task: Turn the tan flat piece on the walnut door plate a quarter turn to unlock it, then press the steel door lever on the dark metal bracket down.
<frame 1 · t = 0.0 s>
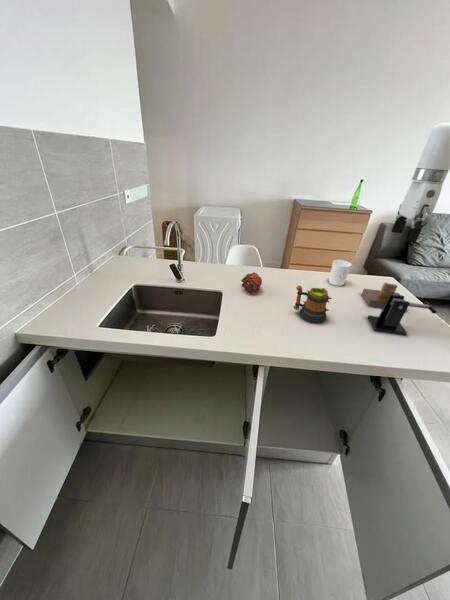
hand: (402, 236, 77), 30 cm above the worktop, tool pointing down, fingers open, 9 cm apart
handle bracket: (385, 326, 87), on the worktop
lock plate: (382, 302, 101), on the worktop
mug: (308, 315, 91), on the worktop
door lever: (411, 304, 81), point 10 cm above the worktop, hinge at 0.0°
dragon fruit: (250, 289, 106), on the worktop
white cup: (335, 283, 116), on the worktop
tan flat piece: (388, 290, 98), point 6 cm above the worktop, hinge at 0.0°
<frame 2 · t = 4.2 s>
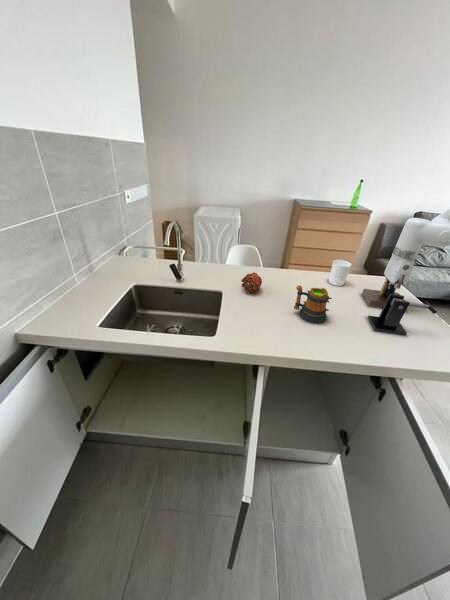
hand: (385, 295, 100), 3 cm above the worktop, tool pointing down, fingers closed
tan flat piece: (388, 290, 98), point 6 cm above the worktop, hinge at 0.0°, touching gripper
everything else where it was.
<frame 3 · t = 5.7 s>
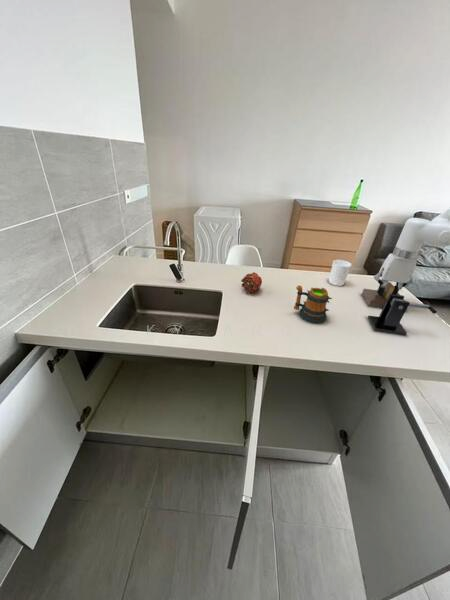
hand: (385, 295, 100), 4 cm above the worktop, tool pointing down, fingers open, 4 cm apart
tan flat piece: (388, 290, 98), point 6 cm above the worktop, hinge at 89.8°
everything else where it was.
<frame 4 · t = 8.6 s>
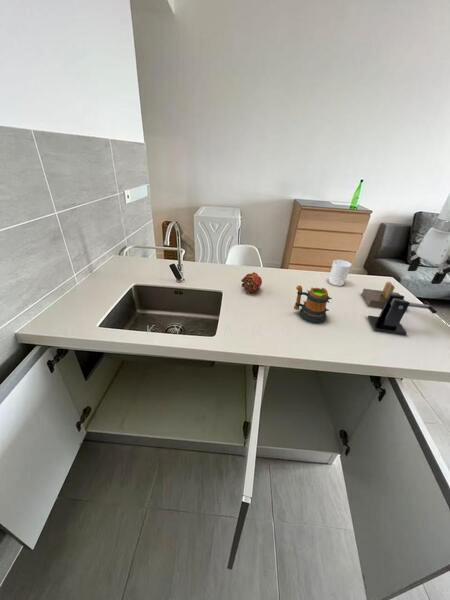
hand: (422, 276, 83), 17 cm above the worktop, tool pointing down, fingers open, 9 cm apart
nothing on the worktop moved.
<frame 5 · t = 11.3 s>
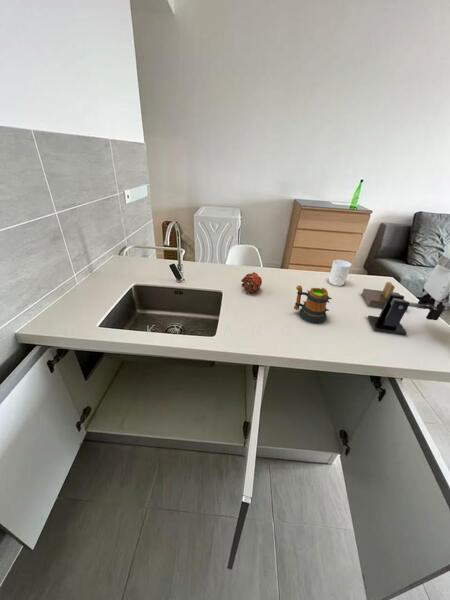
hand: (426, 313, 82), 8 cm above the worktop, tool pointing down, fingers closed on door lever, 6 cm apart
door lever: (411, 304, 81), point 10 cm above the worktop, hinge at 0.0°, touching gripper
everything else where it was.
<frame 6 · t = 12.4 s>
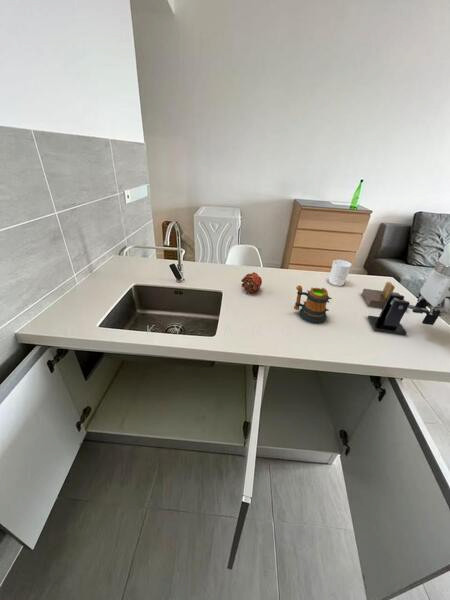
hand: (422, 317, 83), 6 cm above the worktop, tool pointing down, fingers closed on door lever, 6 cm apart
door lever: (410, 306, 82), point 9 cm above the worktop, hinge at -10.1°, touching gripper
everything else where it was.
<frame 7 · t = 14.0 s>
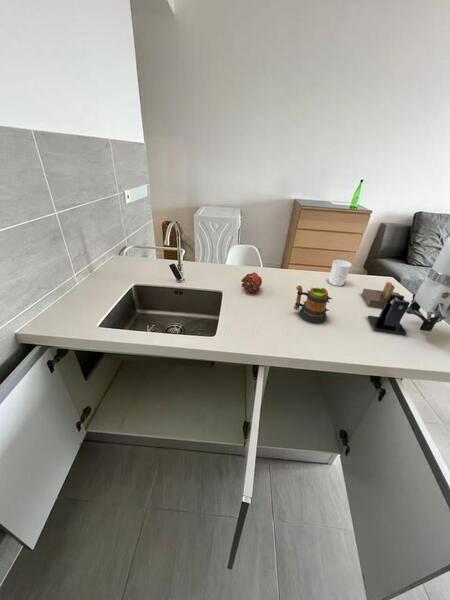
hand: (417, 321, 84), 4 cm above the worktop, tool pointing down, fingers open, 9 cm apart
door lever: (408, 309, 82), point 8 cm above the worktop, hinge at -23.1°
everything else where it was.
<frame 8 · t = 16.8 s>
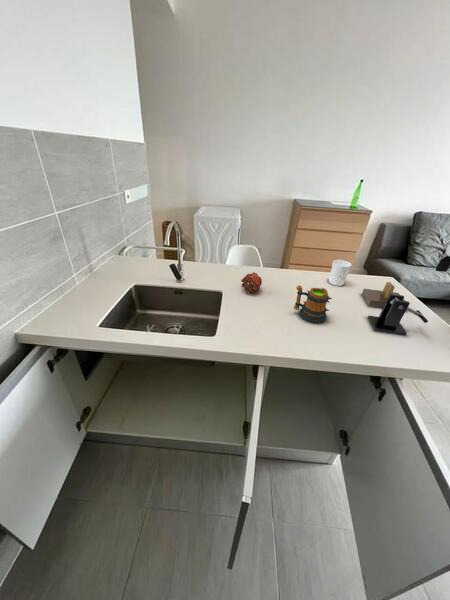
hand: (449, 277, 76), 20 cm above the worktop, tool pointing down, fingers open, 9 cm apart
nothing on the worktop moved.
at the end: tan flat piece at +90° (first picture: +0°); door lever at -23° (first picture: +0°) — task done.
